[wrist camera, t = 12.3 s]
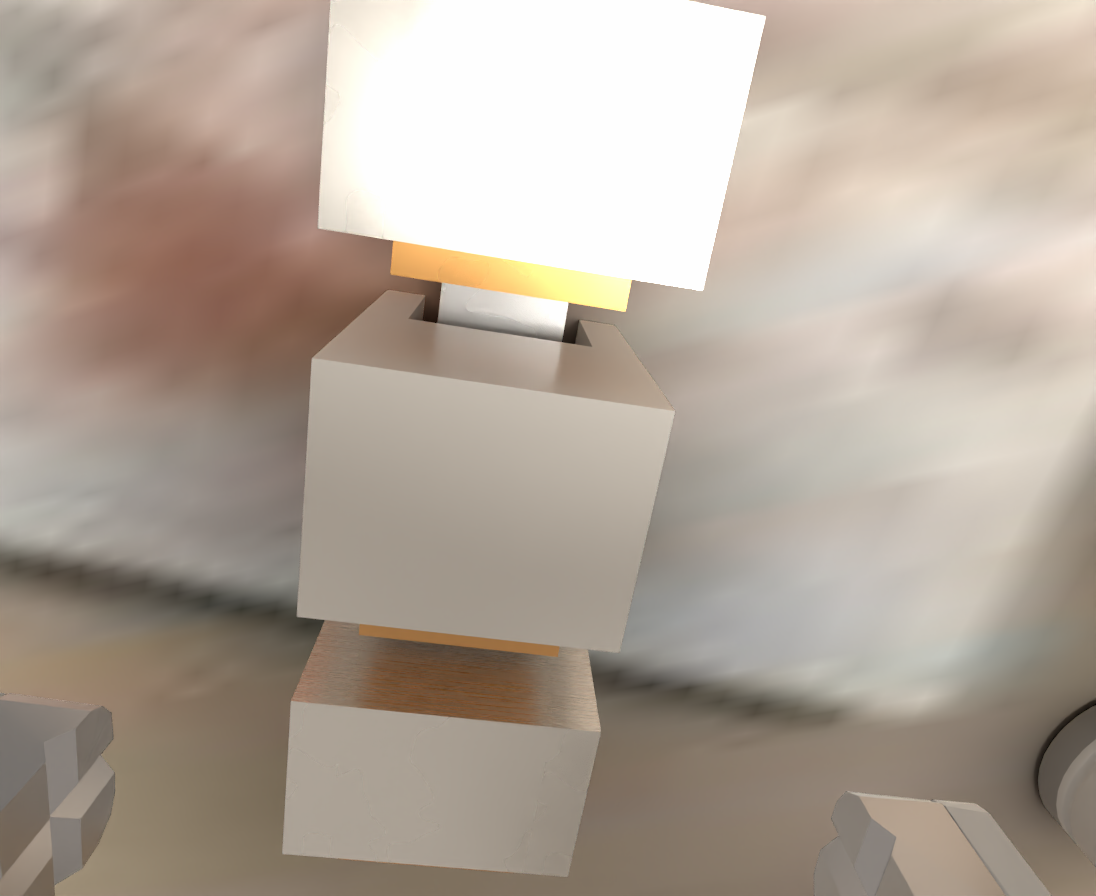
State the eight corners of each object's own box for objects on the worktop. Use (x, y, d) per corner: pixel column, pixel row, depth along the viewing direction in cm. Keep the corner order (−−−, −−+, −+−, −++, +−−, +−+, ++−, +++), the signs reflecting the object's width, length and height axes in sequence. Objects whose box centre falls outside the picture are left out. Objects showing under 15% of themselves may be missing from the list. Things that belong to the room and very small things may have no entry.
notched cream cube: (387, 289, 20) (311, 358, 12) (615, 325, 20) (675, 411, 13) (370, 481, 22) (295, 643, 14) (579, 509, 22) (613, 678, 15)
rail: (547, 673, 24) (563, 896, 17) (354, 652, 24) (281, 874, 16) (661, 82, 18) (766, 15, 11) (409, 34, 18) (334, -71, 10)
